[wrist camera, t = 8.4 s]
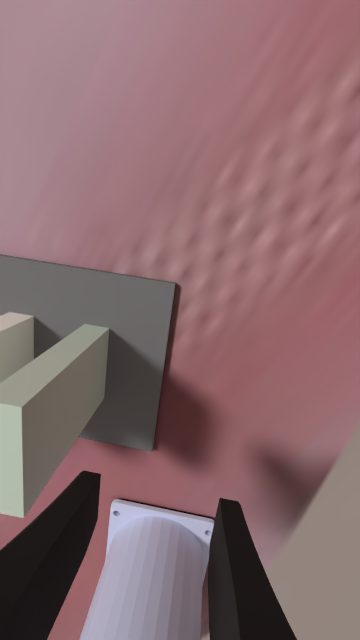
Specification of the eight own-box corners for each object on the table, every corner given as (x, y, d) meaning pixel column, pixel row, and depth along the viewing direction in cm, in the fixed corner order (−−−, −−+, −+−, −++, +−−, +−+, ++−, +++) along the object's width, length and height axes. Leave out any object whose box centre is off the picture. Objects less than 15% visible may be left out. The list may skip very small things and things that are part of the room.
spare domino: (109, 327, 19) (21, 407, 10) (104, 397, 20) (23, 518, 12) (84, 323, 19) (-23, 398, 10) (81, 393, 20) (-15, 509, 12)
